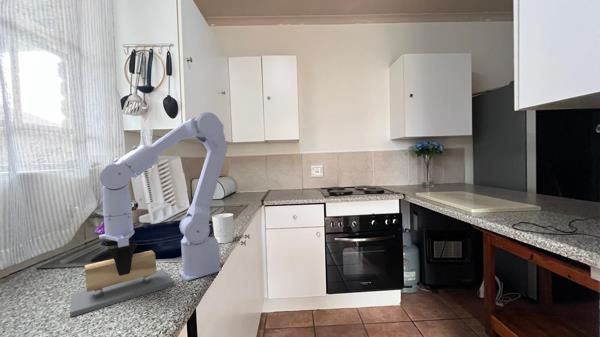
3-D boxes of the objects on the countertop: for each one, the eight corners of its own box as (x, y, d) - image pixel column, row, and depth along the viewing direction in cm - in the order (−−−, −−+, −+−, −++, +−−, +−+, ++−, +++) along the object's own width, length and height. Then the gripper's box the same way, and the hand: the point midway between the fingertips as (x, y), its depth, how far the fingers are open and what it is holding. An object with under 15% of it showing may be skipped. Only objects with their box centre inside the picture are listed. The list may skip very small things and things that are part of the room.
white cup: (210, 241, 106) (208, 216, 105) (228, 237, 111) (227, 212, 111) (219, 245, 100) (217, 218, 100) (238, 240, 105) (237, 214, 105)
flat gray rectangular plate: (163, 272, 78) (162, 262, 78) (173, 285, 69) (173, 273, 69) (71, 298, 65) (70, 285, 65) (70, 317, 57) (69, 303, 56)
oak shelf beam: (86, 286, 64) (84, 265, 64) (153, 268, 73) (151, 250, 73) (86, 292, 61) (85, 270, 61) (156, 273, 70) (155, 253, 70)
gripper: (96, 213, 70) (100, 266, 70) (99, 221, 58) (104, 284, 59) (128, 209, 74) (132, 258, 74) (137, 215, 63) (142, 274, 63)
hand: (122, 269), depth 67 cm, fingers open, 7 cm apart
